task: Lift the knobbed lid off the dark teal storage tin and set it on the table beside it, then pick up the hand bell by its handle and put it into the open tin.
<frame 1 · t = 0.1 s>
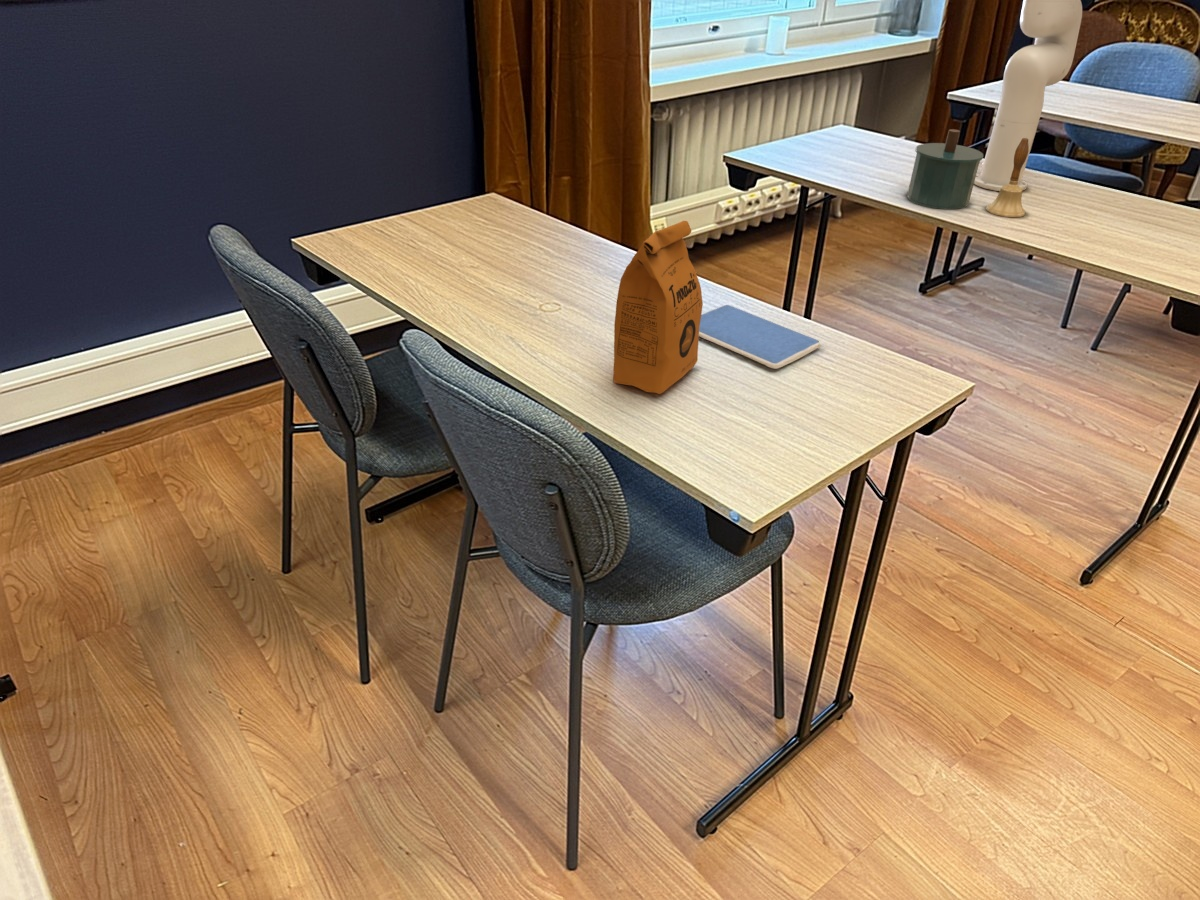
tin lid: (948, 153, 195), point 10 cm above the table, touching tin
tin: (937, 200, 200), on the table
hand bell: (1005, 212, 195), on the table
tablet: (748, 340, 136), on the table
coffee package: (655, 378, 125), on the table
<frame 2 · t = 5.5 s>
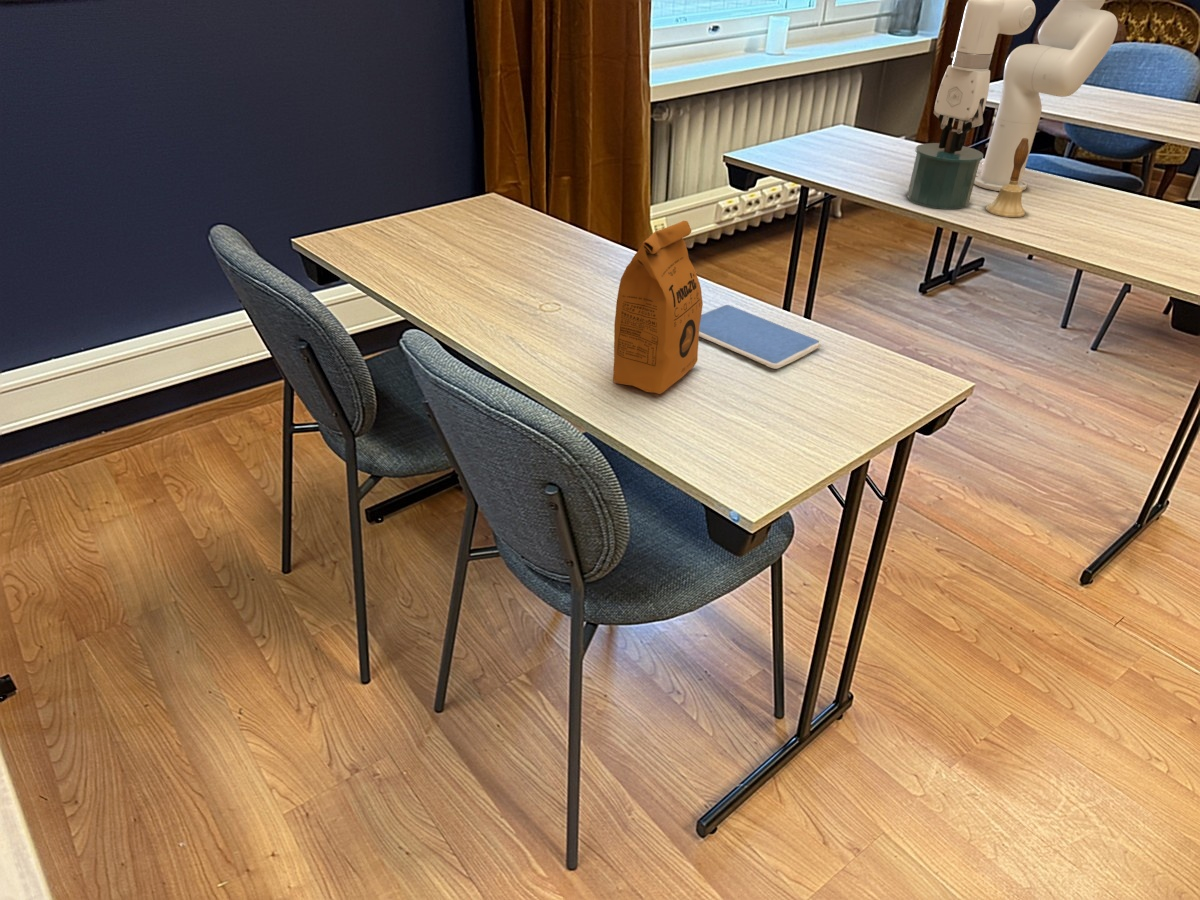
hand: (950, 148, 194), 12 cm above the table, tool pointing down, fingers closed on tin lid, 2 cm apart
tin lid: (948, 153, 195), point 11 cm above the table, touching gripper, tin
everything else where it was.
when the fingers open (2 cm above the table, at t = 13.4 s): tin lid stays where it is, point 1 cm above the table.
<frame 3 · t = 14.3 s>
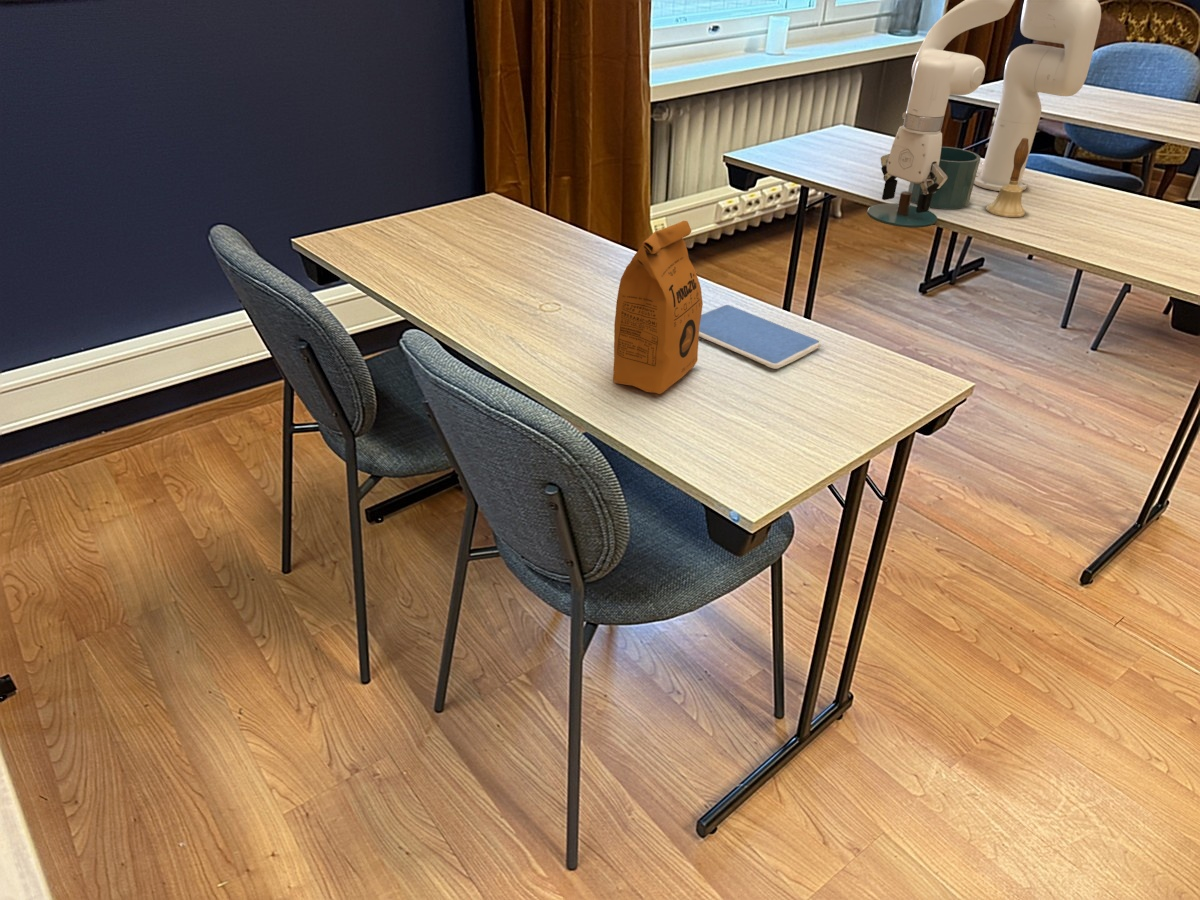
hand: (904, 205, 186), 3 cm above the table, tool pointing down, fingers open, 9 cm apart
tin lid: (901, 216, 188), point 1 cm above the table
everything else where it was.
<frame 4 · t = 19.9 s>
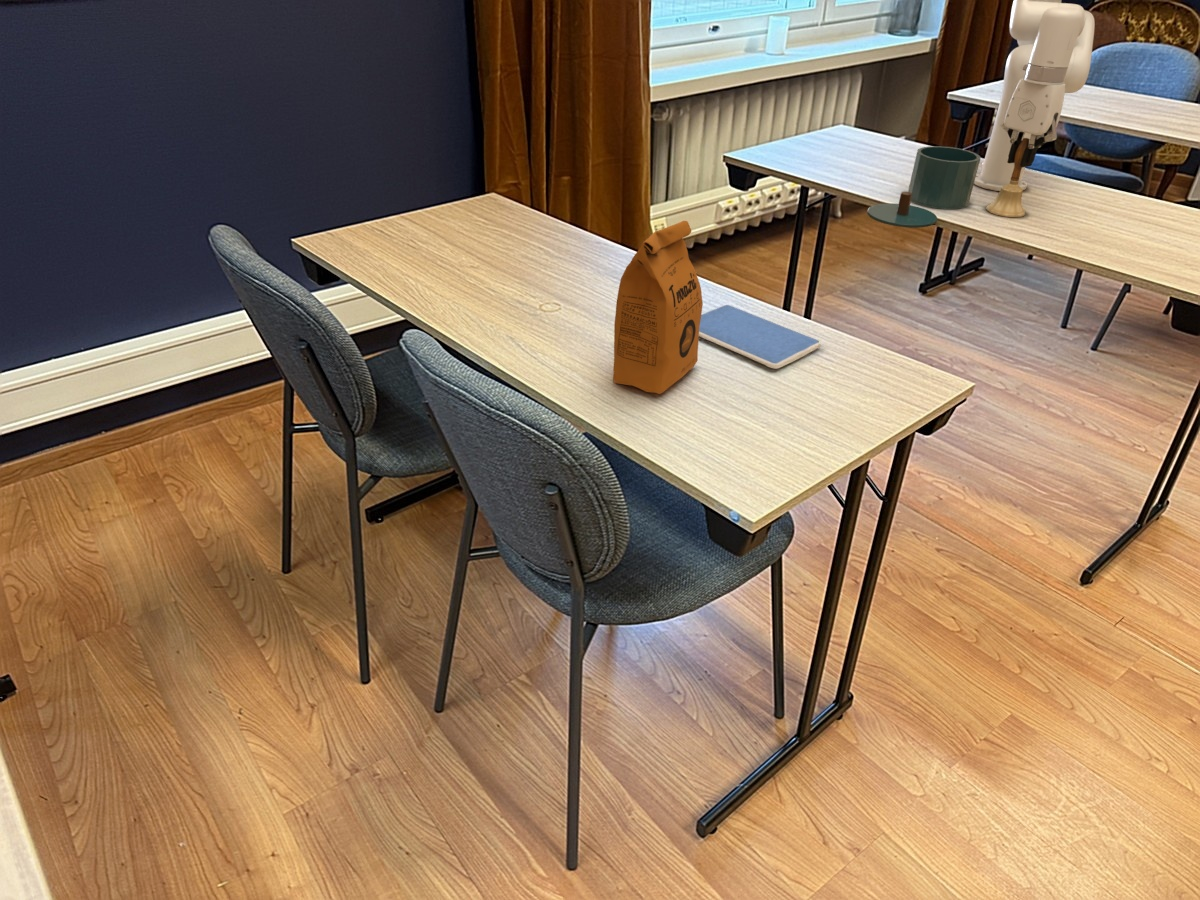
hand: (1019, 163, 189), 11 cm above the table, tool pointing down, fingers closed on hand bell, 2 cm apart
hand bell: (1005, 212, 195), on the table, touching gripper
everything else where it was.
when the fingers open (11 cm above the table, at t = 26.3 s): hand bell stays where it is, resting on tin.
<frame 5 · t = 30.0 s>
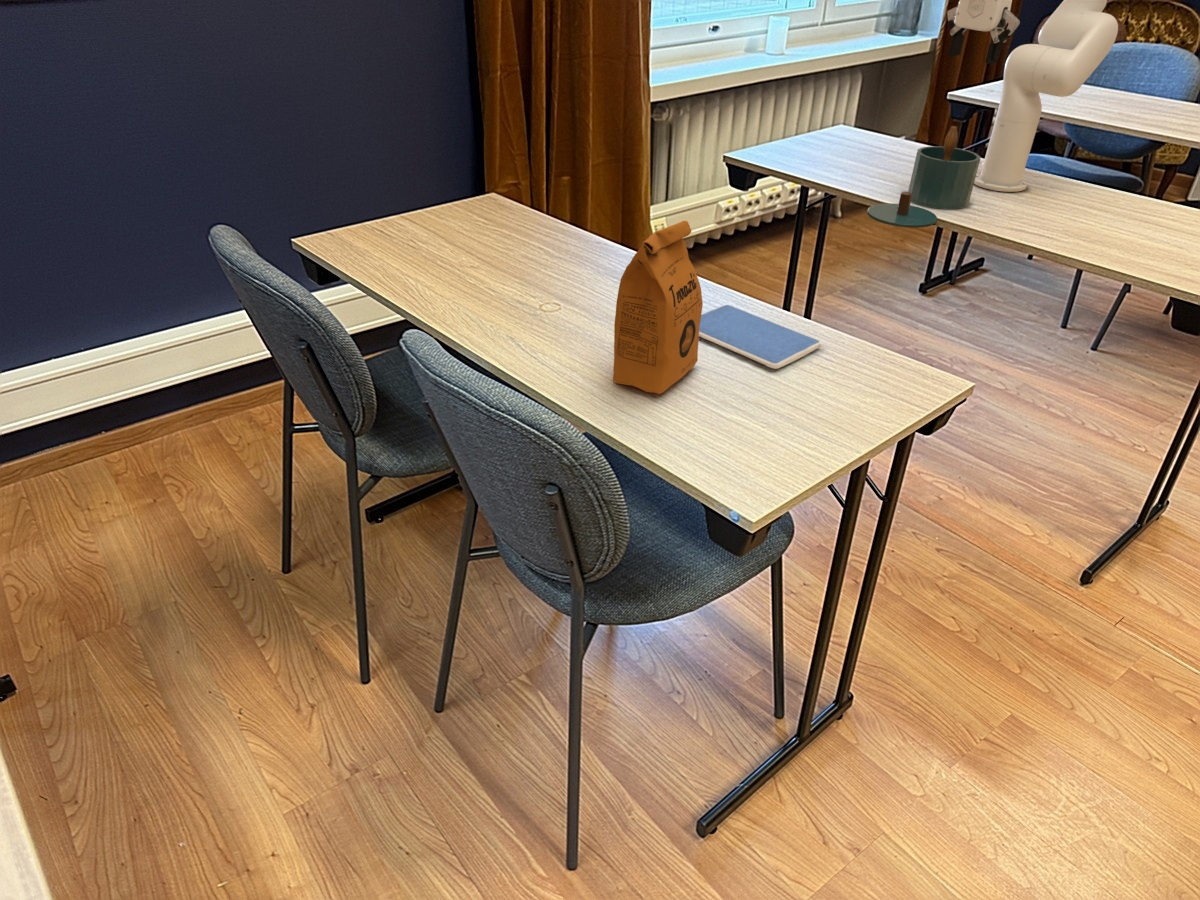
hand: (972, 59, 184), 30 cm above the table, tool pointing down, fingers open, 9 cm apart
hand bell: (937, 198, 200), resting on tin
everything else where it was.
at the end: tin lid inside the target area (0.1 cm from its centre), point 0.6 cm above the table; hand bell inside the target area in the tin (0.1 cm from its centre), point 0.3 cm above the tin's base; the gripper is holding nothing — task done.
